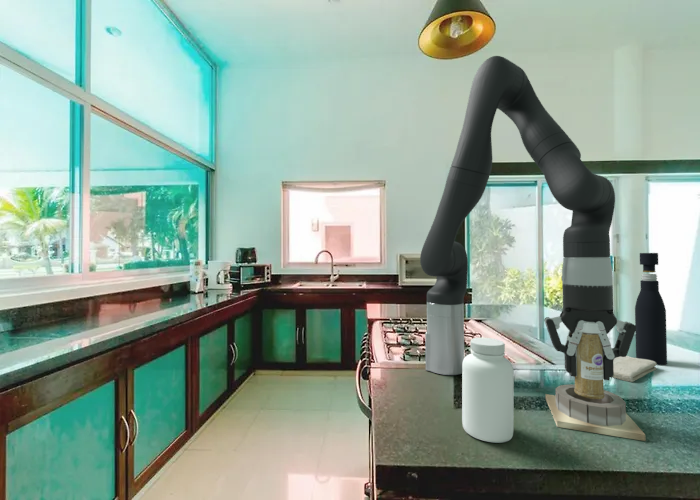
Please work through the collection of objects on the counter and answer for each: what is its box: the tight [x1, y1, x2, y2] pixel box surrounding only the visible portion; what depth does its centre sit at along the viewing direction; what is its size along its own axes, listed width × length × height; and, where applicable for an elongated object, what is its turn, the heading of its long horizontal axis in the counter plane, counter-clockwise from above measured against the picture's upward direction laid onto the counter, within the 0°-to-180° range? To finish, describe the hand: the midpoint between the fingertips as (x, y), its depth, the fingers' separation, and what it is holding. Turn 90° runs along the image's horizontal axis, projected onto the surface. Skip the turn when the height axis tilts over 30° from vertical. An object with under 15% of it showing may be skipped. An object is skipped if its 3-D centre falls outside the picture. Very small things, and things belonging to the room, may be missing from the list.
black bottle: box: [634, 252, 668, 366], centre depth 93 cm, size 6×6×30 cm
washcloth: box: [613, 355, 658, 383], centre depth 87 cm, size 12×18×3 cm, turn 124°
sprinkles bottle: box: [574, 321, 605, 399], centre depth 61 cm, size 5×5×14 cm
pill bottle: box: [461, 337, 515, 444], centre depth 56 cm, size 8×8×15 cm
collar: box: [545, 383, 646, 442], centre depth 61 cm, size 12×12×4 cm
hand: (588, 376), depth 61 cm, fingers closed on sprinkles bottle, 4 cm apart
